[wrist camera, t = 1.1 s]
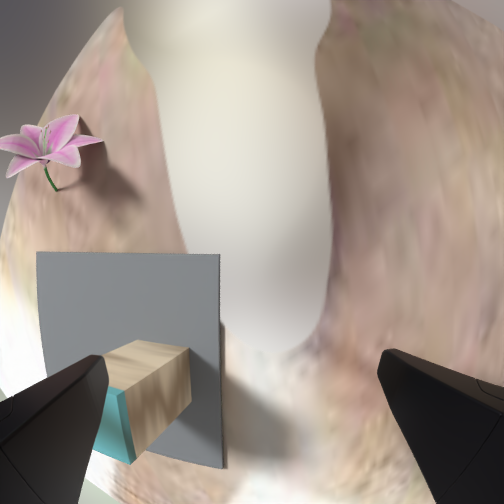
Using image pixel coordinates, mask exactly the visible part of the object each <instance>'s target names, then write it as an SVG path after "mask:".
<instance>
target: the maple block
mask: <svg viewBox="0 0 504 504" xmlns="http://www.w3.org/2000/svg"><path fill="white" fill-rule="evenodd" d="M101 356H103V357H104V359H105V363H106V367H107V371H108V375H109V385H108V390H107V395H106V399H105V404H104V409H103V414H102V419H101V423H100V427H99V430H98V433H97V436H96V439H95V443H94V446H93V450H95V451H98V452H100V453H102V454H105V455H107V456H109V457H112V458H114V459H117V460H119V461H122V462H124V463H127V464H130V465H131V464H132V463H133V462H134V461H135V460H136V459H137V458H138V457H139V456H140V455H141V454H142V453H143V452H144V451H145V450H146V449H147V448H148V447H149V446H150V445H151V444H152V443H153V442H154V441H155V439H156V438H157V437H158V436H159V435H160V434H161V433H162V432H163V431H164V430H165V429H166V428H167V427H168V426H169V425H170V424H171V423H172V422H173V421H174V420H175V419H176V418H177V417H178V415H179V414H180V413H181V412H182V411H183V410H184V409H185V408H186V407H187V406H188V405H189V404H190V403H191V402H192V396H191V379H190V358H189V347H181V346H174V345H167V344H161V343H154V342H148V341H142V340H136V341H133V342H131V343H129V344H126V345H124V346H122V347H120V348H117V349H115V350H113V351H110V352H108V353H106V354H103V355H101Z"/></svg>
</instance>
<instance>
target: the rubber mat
mask: <svg viewBox="0 0 504 504" xmlns="http://www.w3.org/2000/svg"><path fill="white" fill-rule="evenodd" d="M36 271H37V298H38V312H39V323H40V332H41V340H42V348H43V354H44V361H45V367H46V372H47V377H49V376H51V375H53V374H55V373H57V372H59V371H61V370H63V369H64V368H66V367H68V366H70V365H72V364H74V363H76V362H78V361H79V360H81V359H83V358H85V357H87V356H89V355H91V354H94V355H103V354H106V353H108V352H110V351H113V350H115V349H117V348H120V347H122V346H124V345H126V344H129V343H131V342H133V341H136V340H142V341H148V342H154V343H161V344H167V345H174V346H181V347H189V358H190V379H191V396H192V402H191V403H190V404H189V405H188V406H187V407H186V408H185V409H184V410H183V411H182V412H181V413H180V414H179V415H178V417H177V418H176V419H175V420H174V421H173V422H172V423H171V424H170V425H169V426H168V427H167V428H166V429H165V430H164V431H163V432H162V433H161V434H160V435H159V436H158V437H157V438H156V439H155V441H154V442H153V443H152V444H151V445H150V446H149V447H148V448H147V449H146V451H150V452H153V453H156V454H160V455H163V456H167V457H170V458H174V459H178V460H182V461H186V462H190V463H194V464H199V465H203V466H208V467H213V468H218V469H223V467H224V465H223V443H222V414H221V374H220V254H155V253H90V252H36Z"/></svg>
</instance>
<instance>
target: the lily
mask: <svg viewBox="0 0 504 504" xmlns="http://www.w3.org/2000/svg"><path fill="white" fill-rule="evenodd" d="M78 121H79V115H77V114H72V115H67V116H63V117H60V118H58V119H55V120H53V121H51V122H49V123H48V124H47V125H46V126H44V128H42V127H39V126H35V125H23V126H22V127H21V131H20V134H12V135H8V136H4V137H1V138H0V149H1V150H6V151H10V152H13V153H17V155H16V156H15V157H14V158H13V159H12V161H11V163H10V165H9V167H8V170H7V173H6V178H9V177H11V176H13V175H15V174H16V173H18V172H20V171H22V170H23V169H25V168H27V167H29V166H31V165H33V164H34V163H36V162H40V163H41V164H42V165H43V167H44V170H45V173H46V176H47V178H48V180H49V182H50V184H51V185H52V187H53V188H54V190H55V191H57V188H56V187H55V185H54V183H53V182H52V180H51V178H50V176H49V174H48V171H47V167H46V164H47V163H48V162H50V161H51V160H52V161H55V162H58V163H61V164H64V165H66V166H70V167H74V168H79V166H80V165H81V159H80V154H79V151H78V148H77V147H80V146H84V145H88V144H93V143H97V142H102V141H103V140H102V139H100V138H97V137H93V136H87V135H77V134H75V135H73V134H74V132H75V130H76V127H77V124H78Z"/></svg>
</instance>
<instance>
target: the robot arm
mask: <svg viewBox="0 0 504 504" xmlns="http://www.w3.org/2000/svg"><path fill="white" fill-rule="evenodd" d="M377 375H378V378H379V381H380V383H381V386H382V388H383V391H384V394H385V396H386V399H387V402H388V404H389V407H390V409H391V411H392V413H393V415H394V417H395V419H396V421H397V423H398V425H399V427H400V429H401V431H402V433H403V435H404V437H405V439H406V441H407V443H408V445H409V447H410V449H411V451H412V453H413V455H414V457H415V459H416V461H417V463H418V466H419V468H420V470H421V472H422V474H423V476H424V478H425V480H426V482H427V485H428V487H429V489H430V491H431V493H432V495H433V498H434V500H435V502H437V503H436V504H504V387H501V386H497V385H494V384H491V383H488V382H485V381H482V380H479V379H475V378H473V377H470V376H467V375H465V374H462V373H459V372H456V371H453V370H451V369H448V368H445V367H443V366H440V365H437V364H434V363H432V362H429V361H426V360H424V359H421V358H418V357H416V356H413V355H411V354H408V353H405V352H403V351H400V350H398V349H394V348H393V349H387V350H384V351H383V352H382V355H381V359H380V362H379V366H378V370H377ZM108 385H109V375H108V371H107V367H106V363H105V359H104V357H103V356H101V355H94V354H91V355H89V356H87V357H85V358H83V359H81V360H79V361H78V362H76V363H74V364H72V365H70V366H68V367H66V368H64V369H63V370H61V371H59V372H57V373H55V374H53V375H51V376H49V377H48V378H46V379H44V380H42V381H40V382H38V383H36V384H34V385H32V386H30V387H29V388H27V389H25V390H23V391H21V392H19V393H17V394H15V395H14V397H13V396H11V397H9V398H7V399H6V400H4V401H2V402H0V504H78V500H79V497H80V493H81V488H82V485H83V481H84V477H85V474H86V470H87V466H88V463H89V459H90V456H91V453H92V449H93V446H94V443H95V439H96V436H97V433H98V430H99V427H100V423H101V419H102V414H103V409H104V404H105V399H106V395H107V390H108Z"/></svg>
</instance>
